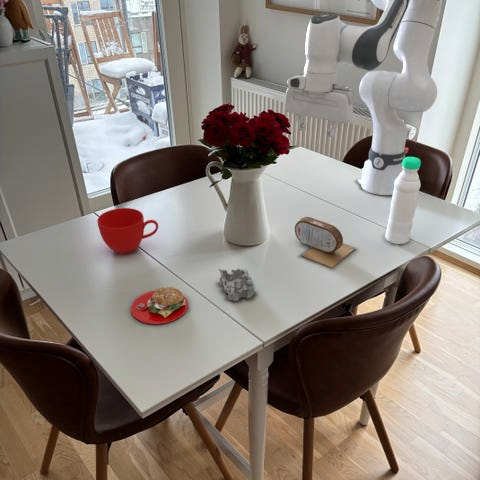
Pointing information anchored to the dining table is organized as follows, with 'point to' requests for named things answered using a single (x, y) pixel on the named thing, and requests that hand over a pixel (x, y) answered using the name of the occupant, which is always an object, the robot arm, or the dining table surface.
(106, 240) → the ceramic cup
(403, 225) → the water bottle
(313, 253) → the cork mat
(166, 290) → the hamburger
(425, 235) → the dining table surface
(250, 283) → the grey lumpy block
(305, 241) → the tin
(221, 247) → the dining table surface
